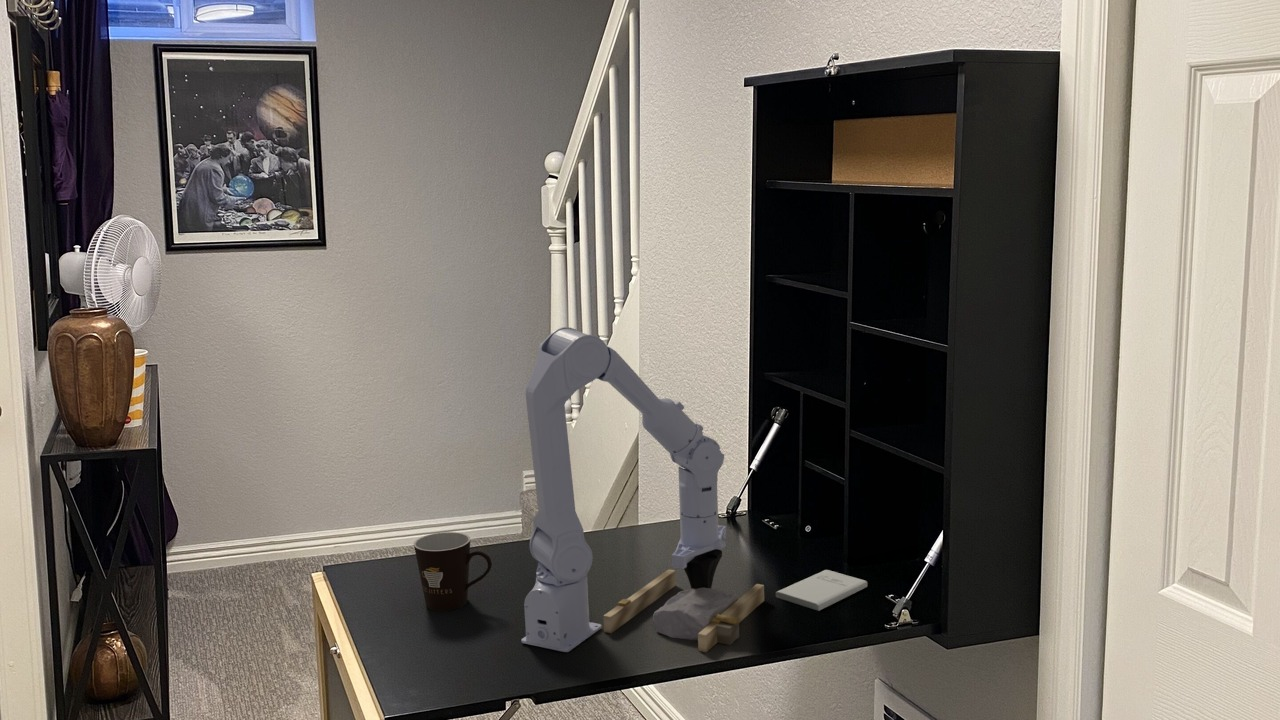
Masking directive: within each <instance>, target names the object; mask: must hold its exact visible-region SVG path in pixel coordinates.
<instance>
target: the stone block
mask: <svg viewBox="0 0 1280 720" xmlns="http://www.w3.org/2000/svg"><path fill="white" fill-rule="evenodd" d="M737 600H738V596H737V594H736V593H729V592H726V591H723V590H720V589H718V588H712V587H711V588H698V589H691V588H690V589H684V590H680V591H679V592H677V593H676V594H675V595H673V596H671V597H670V598H669V599H668V600H667V601H666V602H665V603H664V604H663V606H660V607H659V608H658V609H657V610H655V611H654V613H653V615H652V617H653V618H652V620H653V622H652V623H653V625H654V628H655V630H656V632H657V633H659V634H662V635H664V636H667V637H669V638H675V639H676V638H677V639H685V640H691V641H698V633H699V632H701V631H702V630H703V629H704V628H705V627H706V626H708V625H709V624H710V623H711V619H712V618H714V617H715V616H717V614H720V615H721V614H722V613H723V612H724V611H725V610H726V609H728V608H729V607H730V606H731V605H732V604H734V603H735V602H736V601H737Z"/></svg>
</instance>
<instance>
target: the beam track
mask: <svg viewBox="0 0 1280 720" xmlns="http://www.w3.org/2000/svg"><path fill="white" fill-rule="evenodd" d="M676 582H677V579H676V570H674V569H667V570H665V571H664V572H662V573H661V574H660V575H658V576H657V577H655V578H654V579H653V580H651V581H649V583H647V584H646V585H644V586H643V587H642V588H640V589H639V590H637V591H636V592H635V593H633V594H632V595H631V596H629V597H628V598H622V599H621V600H619V601H618V602H617V605H616V606H615V607H613V608H611V610H609V611H608V612H606V613H604V615H603V631H604V633H608V634H613V633H614V632H615V631H616V630H618V629H619V628H620V627H622V626H623V625H624V624H626V623H627V622H629V621H630V620H631V619H633V618H634V617H636V616H637V615H639V613H641V612H642V611H644V610H645V609H646V608H647V607H648V606H650V605H652V604H654V603H655V602H656V601H657V600H659V599H660V598H661V597H662V596H664V595H665V594H666V593H668V592H669V591H670V590H671V589H673V588H675V587H676V585H677V583H676ZM764 602H765V585H764V584H760V583H756V584H754V586H752V587H751V588H750V589H749V590H747V592H745V593H744V594H743V595H741V596H740V597H739V598H737V601H736V602H735V603H734V604H732V605H731V606H730V607H729V608H728V609H726V610H725V611H724V612H723V613H722V614H721V615H720V614H717V616H715V617H714V618H712V619H711V623H710V624H709V625H708V626H706V627H705V628H704V629H703V630H702V631H701V632H699V633H698V640H697V644H698V645H697V649H698V651H699V652H701V653H702V652H703V653H708V652H709V650H711V649H712V648H713V647H714V646H715V645H716V644H722V645H729V646H730V645H732V644H733V643H734V642H735V641H736V640H737V639H739V637H740V623H741V622H742V621H743V620H744V619H745V618H746V617H748V616H749V614H751V613H752V612H753V611H754V610H756V609H757V608H758V607H759V606H760V605H761V604H762V603H764Z"/></svg>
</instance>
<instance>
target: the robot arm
mask: <svg viewBox="0 0 1280 720" xmlns="http://www.w3.org/2000/svg"><path fill="white" fill-rule="evenodd" d="M595 380H600V381H602V382H604V383H605V382H606V383H608V384H609V385H611V386H612V387H613V388H614V389H615V391H617V392H618V393H619V394H620V395H621V396H623V397H624V398H625V400H627V401H628V402H629V403H630V404H631V406H633V407H634V408H636V410H638V411H639V412H640V413H641V415H642V417H641V418H642V419H641V421H642V422H641V423H642V427H643V428H644V429H645V430H646V431H647V432H648V434H650V435H651V436H652V437H653V438H654V439H655V440H656V441H657V442H658V443H659V444H660V445H661V446H662V447H663V448H664V449H665V450H666V451H667V452H668V453H669V457H670V459H671V461H672V462H673V463H675V464H677V465H678V499H679V500H678V501H679V528H680V531H679V532H680V539H679V540H678V543H677V546H676V548H675V551H674V552H673V553H672V554H671V566H672V568H677V569H683V570H684V572H685V574H686V577H687V578H688V579H687V580H688V583H689V585H690V589H698V588H711V589H712V585H713V582H714V577H715V574H716V570H717V567H718V565H719V563H720V560H721V559H722V557H723V551H722V550H723V549H724V548H725V547H727V545H726V544H727V542H726V541H725V539H726V538H727V526H725V525H719V508H718V507H719V506H718V505H719V504H718V502H719V500H718V496H719V495H718V481H719V480H718V474H719V471H720V470H721V468H722V466H723V463H724V460H725V454H724V453H723V452H722V451H721V447H720V445H719V443H718V442H717V441H716V440H715V439H713V438H711V437H709V436H707V435H704V432H703V430H704V426H703V425H701V424H700V423H698V422H696V423H695V422H694V421H693V420H692V419H691V418H690V417H689V416H688V415H687V414H686V413H685V412H684V409H685V406H684V405H683V404H682V402H681V401H678V400H672V399H671V398H665V397H664V398H659V397H658V396H656V394H655V393H654V392H653V391H652V390H651V388H649V386H648V385H647V384H646V383H645V382H644V380H643V379H642V378H641V377H640V376H639V374H637V373H636V372H635V370H634V369H633V368H632V367H631V366H630V365H629V364H628V362H627V361H625V359H624V358H623V357H622V356H621V355H620V354H619V353H618V352H617V351H616V350H615V349H613V348H612V347H610V346H608V345H607V344H606V343H605V341H604V340H603V339H602V338H600V337H598V336H596V335H592V334H587V333H584V332H581V331H579V330H577V329H575V328H572V327H568V326H564V327H563V326H562V327H558V328H557V329H555V330H554V331H552V332H551V333H550V334H549V335H548V336H547V337H546V338H545V339H544V340H543V341H542V342H541V343H540V344H539V345H538V352H537V359H536V362H535V365H534V367H533V369H532V372H531V375H530V377H529V380H528V381H527V384H526V388H525V401H526V410H527V419H528V429H529V439H530V446H531V455H532V465H533V476H534V484H535V492H536V493H535V494H536V502H537V503H536V504H537V513H536V514H535V515H534V516H533V518H532V524H533V525H532V527H533V529H532V533H531V537H530V540H529V546H528V547H529V551H530V554H531V556H532V557H533V558H534V560H536V561H537V568H536V577H535V584H534V586H533V587H532V589H531V590H530V591H529V592H528V593H527V595H526V597H525V598H524V603H523V606H524V608H523V609H524V622H525V625H524V626H525V636H524V637H523V638H521V641H520V642H521V643H522V644H526V645H530V646H534V647H540V648H544V649H548V650H553V651H558V652H563V653H569V652H570V651H572V650H573V649H574V648H577V646H579V645H580V644H582V642H584V641H586V639H588V638H590V637H591V636H592V635H594V634H595V633H597V632H598V631H599V630H601V629H602V626H603V625H602V624H601V623H596V622H590V609H589V606H590V605H589V588H588V573H589V571H590V569H591V567H592V563H593V550H592V549H591V547H590V546H589V544H588V542H587V541H586V539H585V538H586V537H585V534H584V533H585V532H584V528H583V525H582V522H581V521H580V518H579V516H578V513H577V511H576V504H575V503H576V502H575V494H574V484H573V474H572V464H571V455H570V446H569V445H570V443H569V434H568V425H567V415H566V406H565V405H566V403H567V402H568V400H569V399H570V398H571V397H572V396H574V394H575V393H576V392H577V391H578V390H581V389H582V388H583V387H585V386H587V385H588V384H590V383H592V382H593V381H595Z"/></svg>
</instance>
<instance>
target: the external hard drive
mask: <svg viewBox="0 0 1280 720" xmlns="http://www.w3.org/2000/svg"><path fill="white" fill-rule="evenodd" d="M866 588H868V581H867V580H864V579H861V578H857V577H854V576H850V575H848V574H847V575H846V574H843V573H839V572H838V571H832V570H830V569H824V570H822V571H820V572H818V573H815V574H813V575H811V576H809V577H807V578H804V579H802V580H800V581H797V582H794V583H793V584H791V585H789V586H787V587H784V588H782V589H779V590H778V591H775V597H776V598H777V599H780V600H784V601H787V602H789V603H793V604H796V605H799V606H802V607H805V608H808V609H812V610H815V611H817V612H820V611H821V610H823V609H825V608H827V607H828V608H829V607H830V606H832V605H833V604H835V603H838V602H840V601H842V600H843V599H847V598H848V597H850V596H851V595H854V594H856V593H857V592H860V591H862V590H864V589H866Z"/></svg>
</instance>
